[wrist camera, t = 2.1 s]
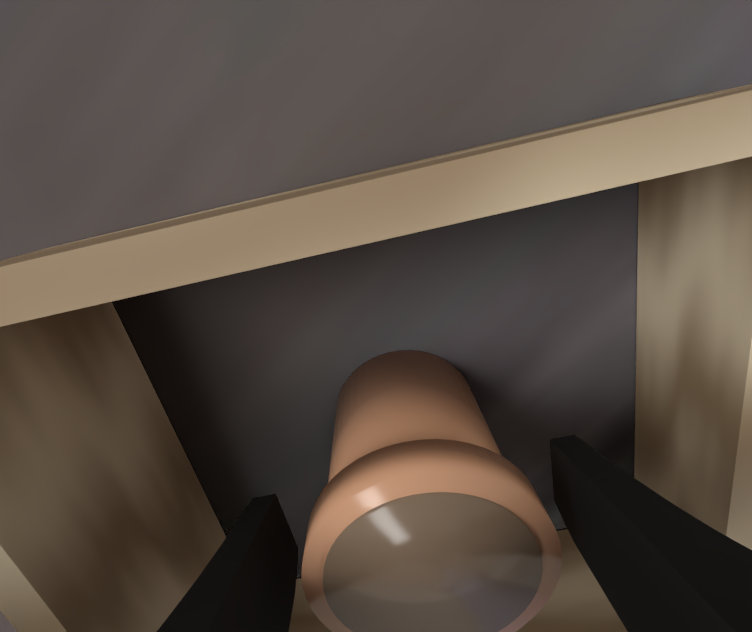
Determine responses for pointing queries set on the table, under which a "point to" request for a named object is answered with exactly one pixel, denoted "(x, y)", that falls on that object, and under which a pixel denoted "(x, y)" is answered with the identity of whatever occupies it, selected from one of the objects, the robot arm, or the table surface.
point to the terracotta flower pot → (424, 511)
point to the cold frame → (331, 233)
